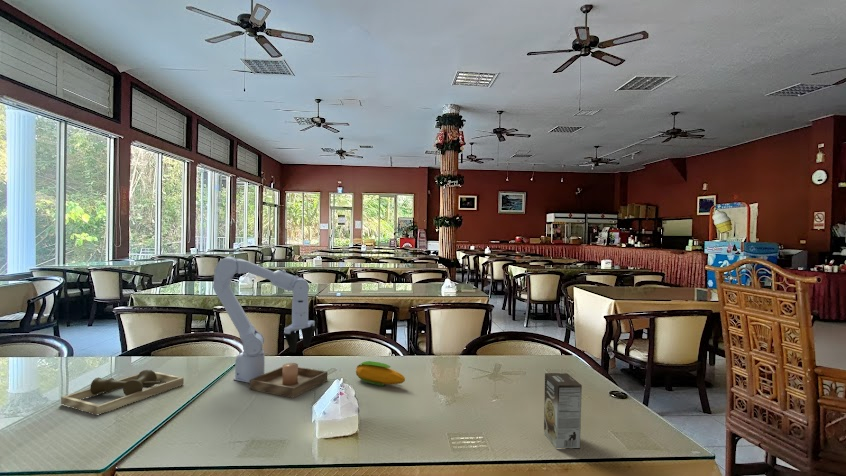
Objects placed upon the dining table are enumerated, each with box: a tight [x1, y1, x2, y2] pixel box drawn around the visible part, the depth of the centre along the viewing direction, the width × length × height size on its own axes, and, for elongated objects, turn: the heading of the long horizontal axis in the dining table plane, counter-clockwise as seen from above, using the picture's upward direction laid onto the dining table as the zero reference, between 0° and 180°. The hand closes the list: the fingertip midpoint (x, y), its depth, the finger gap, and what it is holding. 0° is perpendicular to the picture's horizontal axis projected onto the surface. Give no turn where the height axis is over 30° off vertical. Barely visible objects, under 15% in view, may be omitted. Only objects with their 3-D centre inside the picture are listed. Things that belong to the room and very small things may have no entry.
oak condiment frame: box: [60, 371, 185, 415], centre depth 139 cm, size 17×27×2 cm, turn 157°
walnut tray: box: [249, 365, 328, 399], centre depth 150 cm, size 18×18×3 cm
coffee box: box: [543, 372, 583, 449], centre depth 113 cm, size 9×6×16 cm
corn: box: [355, 360, 406, 387], centre depth 152 cm, size 7×8×20 cm
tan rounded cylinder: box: [282, 362, 299, 385], centre depth 150 cm, size 5×5×6 cm
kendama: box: [89, 369, 162, 396], centre depth 139 cm, size 6×10×20 cm
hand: (299, 349), depth 160 cm, fingers open, 7 cm apart
